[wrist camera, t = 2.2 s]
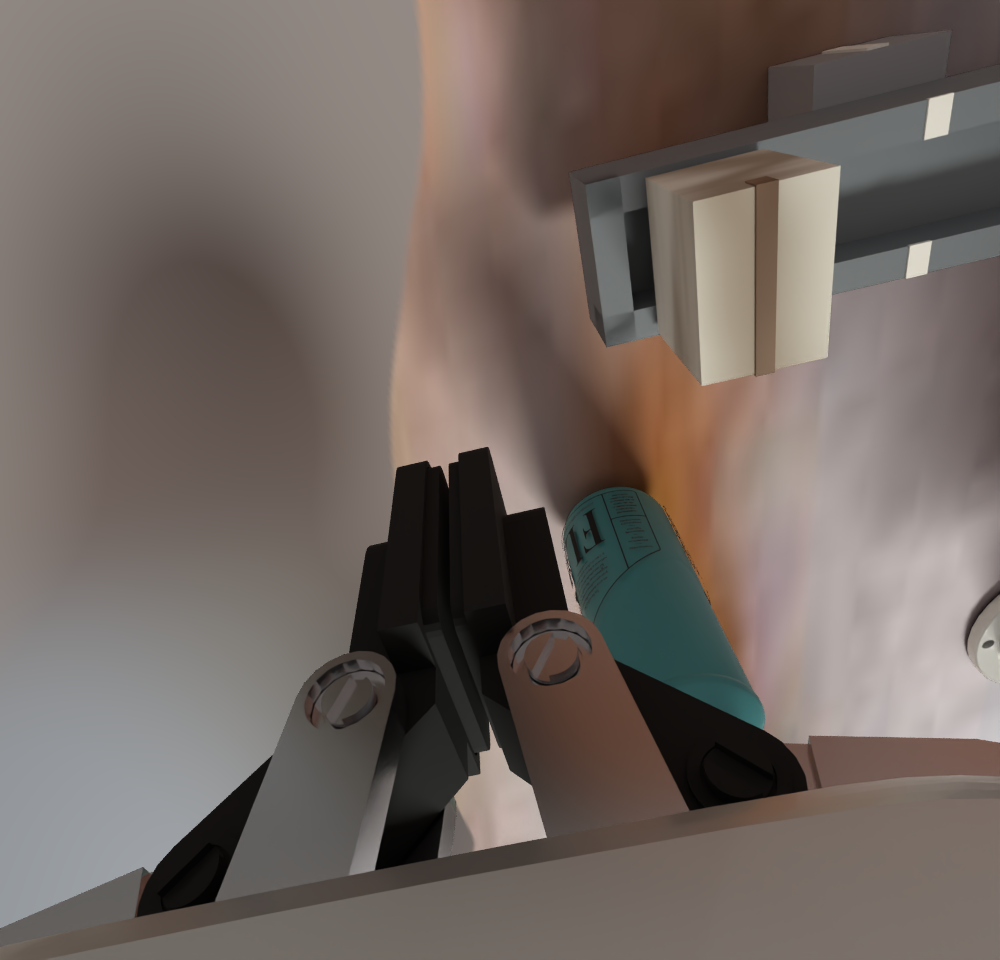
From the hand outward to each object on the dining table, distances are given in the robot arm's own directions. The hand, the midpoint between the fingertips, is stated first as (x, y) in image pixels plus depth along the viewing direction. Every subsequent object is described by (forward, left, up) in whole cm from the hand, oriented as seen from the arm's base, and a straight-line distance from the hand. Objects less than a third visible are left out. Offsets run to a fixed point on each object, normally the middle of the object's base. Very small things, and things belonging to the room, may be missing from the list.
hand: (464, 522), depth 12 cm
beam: (-17, 0, -22) cm, 28 cm away
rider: (-9, 0, -16) cm, 18 cm away
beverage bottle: (-5, +17, -22) cm, 28 cm away
